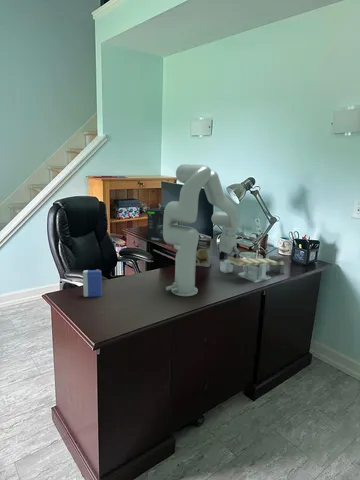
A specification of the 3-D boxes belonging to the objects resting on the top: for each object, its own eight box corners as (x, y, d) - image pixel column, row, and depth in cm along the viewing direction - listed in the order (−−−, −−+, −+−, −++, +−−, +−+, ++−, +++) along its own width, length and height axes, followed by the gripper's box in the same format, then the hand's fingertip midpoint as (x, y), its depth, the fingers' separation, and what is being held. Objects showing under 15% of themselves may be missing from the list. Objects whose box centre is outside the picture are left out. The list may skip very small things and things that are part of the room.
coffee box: (194, 265, 201) (195, 239, 198) (196, 262, 207) (197, 236, 204) (209, 267, 199) (210, 240, 195) (210, 264, 205) (212, 238, 202)
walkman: (102, 294, 156) (101, 269, 153) (101, 296, 153) (100, 271, 150) (84, 294, 155) (83, 269, 152) (83, 296, 152) (82, 271, 149)
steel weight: (225, 273, 190) (226, 263, 188) (219, 270, 194) (220, 260, 192) (232, 271, 192) (233, 261, 191) (226, 269, 196) (227, 259, 195)
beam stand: (255, 282, 176) (256, 266, 174) (237, 275, 187) (238, 259, 184) (287, 274, 190) (288, 259, 188) (269, 268, 201) (270, 253, 198)
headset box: (146, 240, 258) (147, 207, 252) (152, 237, 269) (153, 205, 263) (175, 243, 252) (175, 209, 246) (179, 240, 263) (180, 207, 257)
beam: (237, 267, 170) (239, 258, 169) (226, 262, 176) (228, 254, 176) (283, 266, 191) (285, 258, 190) (272, 262, 197) (273, 255, 196)
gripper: (213, 230, 193) (212, 258, 197) (234, 236, 179) (232, 267, 183) (223, 228, 197) (222, 256, 201) (244, 234, 183) (242, 264, 187)
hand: (227, 261), depth 192 cm, fingers open, 9 cm apart
